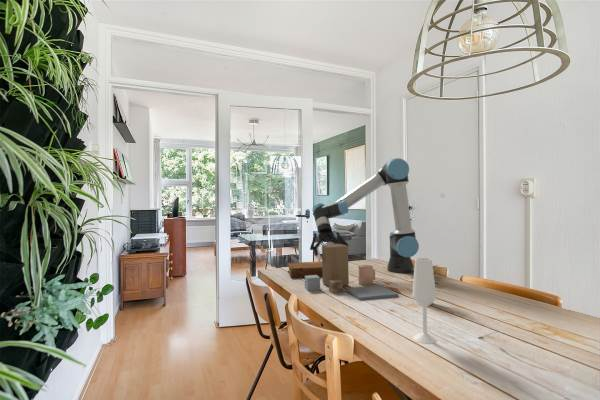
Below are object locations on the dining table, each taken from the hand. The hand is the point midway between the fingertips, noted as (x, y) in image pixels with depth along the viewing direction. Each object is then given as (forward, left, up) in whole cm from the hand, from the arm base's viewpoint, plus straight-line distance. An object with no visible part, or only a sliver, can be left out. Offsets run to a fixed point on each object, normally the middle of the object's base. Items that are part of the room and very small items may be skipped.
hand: (332, 259), depth 172 cm
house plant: (-27, +41, -13) cm, 51 cm away
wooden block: (-1, +1, -13) cm, 13 cm away
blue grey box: (+12, +5, -13) cm, 18 cm away
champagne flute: (-5, +72, -13) cm, 73 cm away
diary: (+5, -29, -13) cm, 32 cm away
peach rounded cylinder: (-16, +4, -13) cm, 21 cm away
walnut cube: (+3, +13, -13) cm, 18 cm away
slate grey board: (-11, +21, -13) cm, 27 cm away
